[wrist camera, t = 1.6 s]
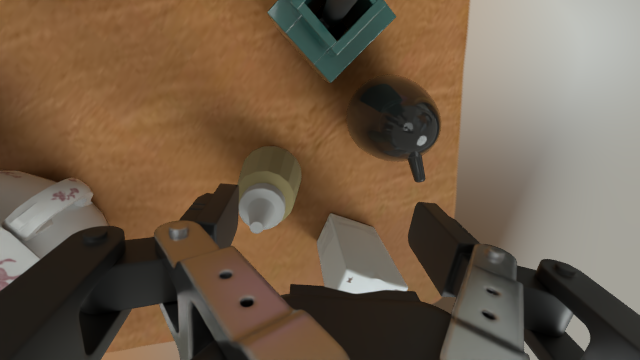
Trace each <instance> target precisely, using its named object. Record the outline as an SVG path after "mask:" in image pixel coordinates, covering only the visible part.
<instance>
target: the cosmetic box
mask: <svg viewBox="0 0 640 360" xmlns="http://www.w3.org/2000/svg"><path fill="white" fill-rule="evenodd" d="M317 247H318V253H319V258H320V264H321V269H322V275H323V280H324V286H325V287H328V288H332V289H337V290H341V291H345V292H349V293H354V294H360V293H367V292H374V291H381V290H397V291H407V289H408V287H407V285H406V283H405V281H404V280H403V278H402V276H401V274H400V273H399V271H398V269H397V267H396V265H395V264H394V262H393V260H392V258H391V257H390V255H389V253H388V251H387V250H386V248H385V246H384V244H383V242H382V241H381V239H380V237H379V235H378V234H377V232H376V230H375V228H374V227H371V226H368V225H365V224H362V223H359V222H356V221H353V220H350V219H347V218H344V217H341V216H337V215H335V214H332V213H330V215H329V217H328V219H327V221H326V223H325V225H324V228H323V230H322V232H321V234H320V236H319V238H318V241H317Z"/></svg>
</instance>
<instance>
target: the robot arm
mask: <svg viewBox="0 0 640 360" xmlns="http://www.w3.org/2000/svg"><path fill="white" fill-rule="evenodd" d="M238 210H239V185H232V184H220V185H219V186H218V188H217V189H216V191H215V192H214V194H210V193H206V194H204V195H202V196H200V197H198V198H197V199H196V200H195V201H194V203H193V205H191V206H190V208H189V209H188V210H187V211H186V212H185V214H184V215H183V216H182V217H181V219H180V220H179V221H173V222H168V223H165V224H163V225H161V226H159V227H158V228H157V229H156V230H155V232H154V237H151V238H143V239H133V240H125V236H124V231H123V230H122V229H120V228H118V227H114V226H97V227H91V228H87V229H84V230H81V231H78V232H76V233H74V234H72V235H71V236H69V237H68V238H67V239H65V240H64V241H63V242H62V243H60V244H59V245H58V246H57V247H55V248H54V249H53V250H52V251H50V252H49V253H48V254H46V255H45V256H44V257H43V258H41V259H40V260H39V261H38V262H36V263H35V264H34V265H33V266H31V267H30V268H29V269H27V270H26V271H25V272H24V273H22V274H21V275H20V276H19V277H17V278H16V279H15V280H14V281H12V282H11V283H10V284H9V285H7V286H6V287H5V288H3V289H2V290H1V291H0V360H101V358H102V357H103V355H104V354H105V352H106V350H107V349H108V347H109V346H110V344H111V342H112V341H113V339H114V337H115V336H116V334H117V333H118V331H119V329H120V328H121V326H122V325H123V323H124V321H125V320H126V318H127V316H128V315H129V313H130V311H131V309H133V308H138V307H144V306H149V305H155V304H159V306H160V309H161V311H162V313H163V316H164V318H165V320H166V322H167V325H168V327H169V329H170V331H171V334H172V336H173V338H174V340H175V342H176V345H177V348H178V351H179V355H180V360H530V358H529V355H528V354H526V353H525V352H524V341H525V342H526V344H527V345H528V346H529V347H530V349H531V350H532V351H533V353H534V354H535V355H536V356H537V358H538V359H539V360H640V315H638V314H637V313H636V312H635V311H633V310H632V309H631V308H629V307H628V306H627V305H625V304H624V303H622V302H621V301H620V300H619V299H617V298H616V297H615V296H613V295H612V294H611V293H609V292H608V291H607V290H605V289H604V288H603V287H601V286H600V285H599V284H597V283H596V282H594V281H593V280H592V279H591V278H589V277H588V276H587V275H585V274H584V273H582V272H581V271H579V270H578V269H576V268H574V267H572V266H571V265H569V264H566V263H563V262H559V261H556V260H551V259H544V260H541V262H540V264H539V266H538V268H537V270H533V269H529V268H525V267H521V266H517V261H516V259H515V258H514V257H513V256H512V255H511V254H510V253H508V252H506V251H505V250H503V249H501V248H498V247H495V246H492V245H488V244H480V243H479V242H478V241H477V240H476V239H475V238H474V237H473V236H472V235H471V234H470V233H468V232H467V230H466V229H464V228H462V226H461V225H460V224H459V223H458V222H457V221H456V220H454V219H453V218H451V217H449V216H448V215H447V214H446V213H445V212H444V211H443V210H442V209H441V208H440V207H439V206H438V205H437V204H435V203H425V202H418V203H417V204H416V206H415V209H414V213H413V217H412V221H411V225H410V229H409V233H408V242H409V245H410V247H411V249H412V250H413V252H414V254H415V255H416V257H417V258H418V260H419V262H420V263H421V265H422V266H423V268H424V269H425V271H426V273H427V274H428V276H429V277H430V279H431V281H432V282H433V284H434V285H435V287H436V288H437V290H438V292H439V293H440V295H441V296H443V297H456V300H455V303H454V306H453V309H452V312H451V314H449V313H448V312H446V311H444V310H442V309H440V308H438V307H436V306H433V305H431V304H428V303H425V302H421V301H420V300H419V298H418V296H417V294H416V292H414V291H397V290H381V291H374V292H367V293H360V294H354V293H349V292H345V291H341V290H337V289H332V288H328V287H324V286H312V285H296V284H291V285H290V294H285V295H281V296H280V295H279V294H278V293H277V292H276V291H275V290H274V289H273V287H272V286H271V285H270V284H269V283H268V282H267V281H266V280H265V279H264V278H263V277H262V276H261V275H260V274H259V272H258V271H257V270H256V269H255V268H254V267H253V266H252V265H251V264H250V263H249V262H248V261H247V260H246V259H245V257H244V256H243V255H242V254H241V253H240V252H239V251H238V250H237V249H236V248H235V247H234V246H231V243H232V241H233V238H234V236H235V233H236V230H237V225H238ZM573 315H575V316H576V317H578V318H579V319H580V320H581V321H582V322H583V323H584V324H585V325H586V327H587V328H588V330H589V333H590V343H589V345H588V347H587V349H586V350H585V352H584V351H583V350H582V349H581V348H580V346H579V345H577V343H576V342H575V341H574V340H572V338H571V337H570V336H569V335H568V334H567V333H566V332H565V330H566V328H567V326H568V324H569V322H570V320H571V318H572V316H573Z"/></svg>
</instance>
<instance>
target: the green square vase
mask: <svg viewBox="0 0 640 360" xmlns="http://www.w3.org/2000/svg"><path fill="white" fill-rule="evenodd" d="M326 1H327V0H278V1H277V2H276V3H275V4H274V5H273V6H272V7H271V9H270V10H269V11H268V12H267V13H268V15H269V17H270V19H271V20H272V22H273V24H274V26H275V27H276V28H277V29H278V30H279V32H280V33H281V34H282V35H283V36H284V37H285V38H286V39H287V40H288V41H289V43H290V44H291V45H292V46H293V47H294V48H295V49H296V50H297V51H298V53H299V54H300V55H301V56H302V57H303V58H304V59H305V60H306V61H307V62H308V64H309V65H310V66H311V67H312V68H313V69H314V70H315V71H316V72H317V73H318V75H319V76H320V77H321V78H322V79H323V80H324V81H327V82H330V83H331V82H332V81H333V80H334V79H335V78H336V77H337V76H338V75H339V74H340V73H341V72H342V71H343V70H344V69H345V68H346V67H347V66H348V65H349V64H350V63H351V62H352V61H353V60H354V59H355V58H356V57H357V56H358V55H359V54H360V53H361V52H362V51H363V50H364V49H365V48H366V47H367V46H368V45H369V44H370V43H371V42H372V41H373V40H374V39H375V38H376V37H377V36H378V35H379V34H380V33H381V32H382V31H383V30H384V29H385V28H386V27H387V26H388V25H389V24H390V23H391V22H392V21H393V20H394V19H395V18H396V16H395V14H394V13H393V12H392V10H391V9H390V8H389V6H388V5H387V4H386V2H385V1H384V0H357V1H356V3H355V4H354V5H353V6H352V8H351V9H350V10H349V11H348V13H347V14H346V15H345V17H344V18H343V19H342V20H341V21H342V22H343V23H344V24H345V25H346V27H347V28H348V29H347V30H346V31H345V32H344V33H343V34H342V35H341V36H340V37H339V38H338V39H337V40H336V39H335V38H334V37H333V36H332V35H331V33H330V32H329V31H328V30H327V29H326V28H325V26H324V25H323V24H322V23H321V22H320V20H319V19H318V18H317V17H316V16H315V15H314V14H315V13H316V12H317V11H318V10H319V9H320V8H321V7H322V6H323V5H324V4H325V2H326Z"/></svg>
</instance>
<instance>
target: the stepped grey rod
mask: <svg viewBox="0 0 640 360" xmlns="http://www.w3.org/2000/svg"><path fill="white" fill-rule="evenodd" d="M356 1H357V0H327V1H326V4H325V6H324V9H323V13H322V17H321V18H320V19H319V20H320V22H321V23H322V24H323V25H324V26H325V28H326V29H327V30H328V31H330V30H331V29H332V27H333V26H335V25H338V24H339V23H340V22H341V20H342V19H343V18H344V17H345V15H346V14H347V13H348V11H349V10H350V9H351V8H352V6H353V5H354V4H355V3H356Z"/></svg>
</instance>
